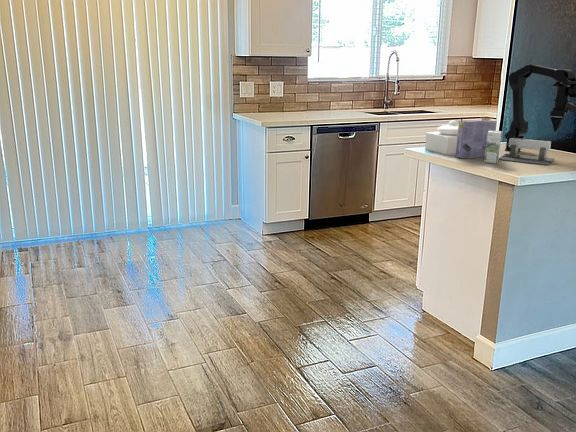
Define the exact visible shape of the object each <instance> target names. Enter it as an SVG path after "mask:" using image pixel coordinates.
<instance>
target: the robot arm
mask: <svg viewBox="0 0 576 432" xmlns="http://www.w3.org/2000/svg"><path fill="white" fill-rule="evenodd" d="M533 74H536V75H541V76H544V77H545V76H546V77H550V78H552V79H553V80H554V81H556V82H555V83H554V84H552V87H556V91H555V97H554V104H553V108H552V110H551V111H550V112H549V113H550V114H549V116H550V120H551V124H552V129H553V131H554V132H557V131H558V130H559V129H560V127H561V124H562V122H563V120H564V119H565V118H566V116H568V114H569V112H571V113H573V114H575V115H576V102H575V103H572V102H570V99H576V76H575V72H574V70H573V69H565V68H562V69H560V68H559V69H558V68H554V67H553V68H552V67H548V66H544V65H538V64H536V63H527V64H526V65H524V66H523V67H521V68H518V69H517V70H516V71H513V72H511V73H510V74H509V75H508V84H509V87H510V89H511V91H512V121H511V122H510V127H509V130H508V131H507V132H505V134H504V138H505V140H506V145H505V149H504V151H506V152H510V148H511V147H508V145H509V139H510V138H518V139H524V137H525V136H526V134H527V133H528V130H529V121H526V120H525V118H524V88H525V86H526V83H527V79H528V78H530V77H531V76H532V75H533ZM521 150H522V148H518V152H520V151H521Z"/></svg>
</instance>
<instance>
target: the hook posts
mask: <svg viewBox="0 0 576 432" xmlns="http://www.w3.org/2000/svg"><path fill="white" fill-rule="evenodd" d="M538 152H539V153H538V156H532V155H522V154H518V153H519V151H518V148H516V145H511V148H510V151H509V153H504V154H502V155H501V157H509V158H519V159H528V160H538V161H547V162H551V163H552V162H553V161H554V160H555V158H552V157H547V155H548V151H546V148H542V147H540V150H538Z"/></svg>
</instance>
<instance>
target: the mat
mask: <svg viewBox="0 0 576 432" xmlns="http://www.w3.org/2000/svg"><path fill="white" fill-rule="evenodd" d="M501 160H502V162H503V161H504V162H511V161H512V162H513V163H522V164H531V165H539V166H540V165H541V166H549V165H551V164H552V162H547V161H538V160H528V159H519V158H509V157H502V156H499V159H498V161H501Z"/></svg>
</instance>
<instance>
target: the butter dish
mask: <svg viewBox="0 0 576 432" xmlns="http://www.w3.org/2000/svg"><path fill="white" fill-rule="evenodd" d="M458 126H459V121H457V120H455V119H453V120H450V121H449V122H448V123H447V124H443V125H441V126H438V127H437V128H436V131H426V132H425V145H424V146H425V147H424V149H425V150H427V151H431V152H435V153H438V154H442V155H449V156H451V155H456V146H457V136H458Z"/></svg>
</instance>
